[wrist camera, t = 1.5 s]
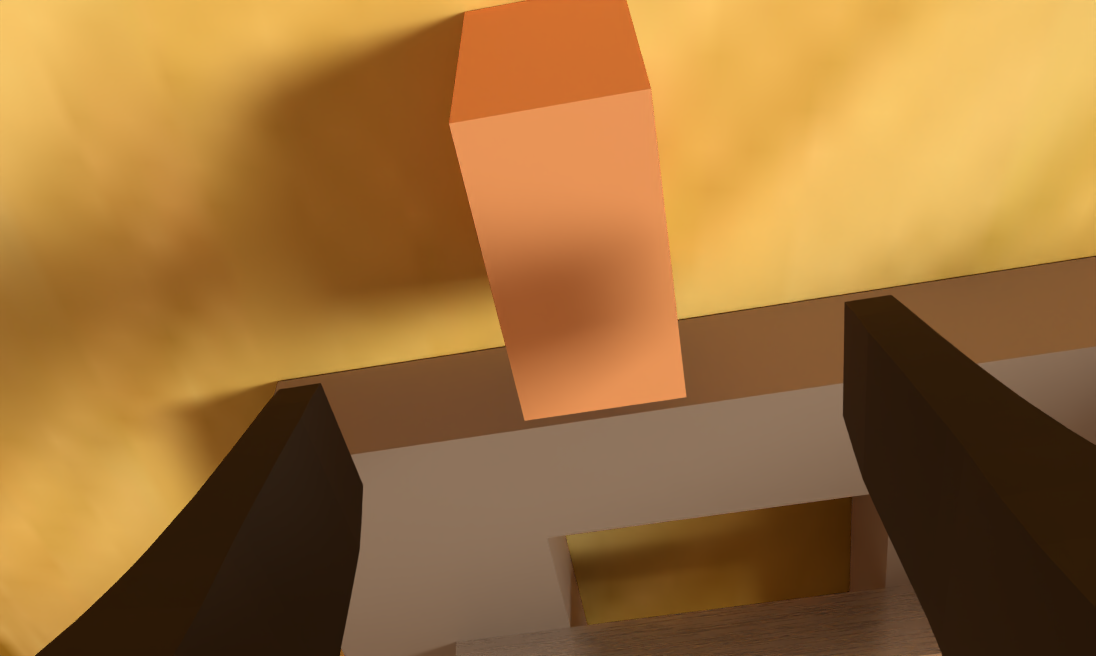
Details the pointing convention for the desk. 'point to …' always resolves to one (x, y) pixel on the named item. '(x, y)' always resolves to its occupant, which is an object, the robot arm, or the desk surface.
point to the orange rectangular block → (568, 203)
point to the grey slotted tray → (664, 475)
